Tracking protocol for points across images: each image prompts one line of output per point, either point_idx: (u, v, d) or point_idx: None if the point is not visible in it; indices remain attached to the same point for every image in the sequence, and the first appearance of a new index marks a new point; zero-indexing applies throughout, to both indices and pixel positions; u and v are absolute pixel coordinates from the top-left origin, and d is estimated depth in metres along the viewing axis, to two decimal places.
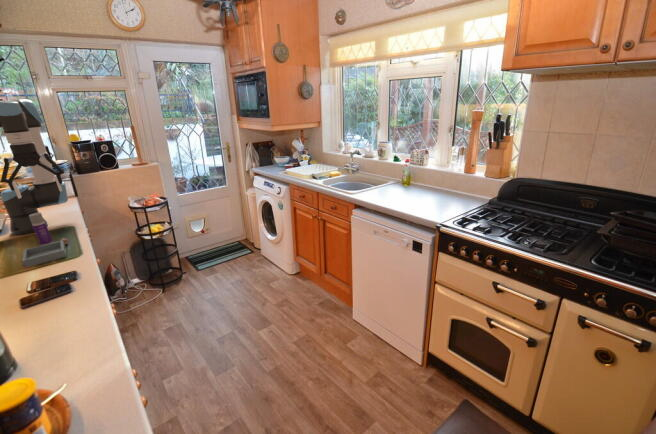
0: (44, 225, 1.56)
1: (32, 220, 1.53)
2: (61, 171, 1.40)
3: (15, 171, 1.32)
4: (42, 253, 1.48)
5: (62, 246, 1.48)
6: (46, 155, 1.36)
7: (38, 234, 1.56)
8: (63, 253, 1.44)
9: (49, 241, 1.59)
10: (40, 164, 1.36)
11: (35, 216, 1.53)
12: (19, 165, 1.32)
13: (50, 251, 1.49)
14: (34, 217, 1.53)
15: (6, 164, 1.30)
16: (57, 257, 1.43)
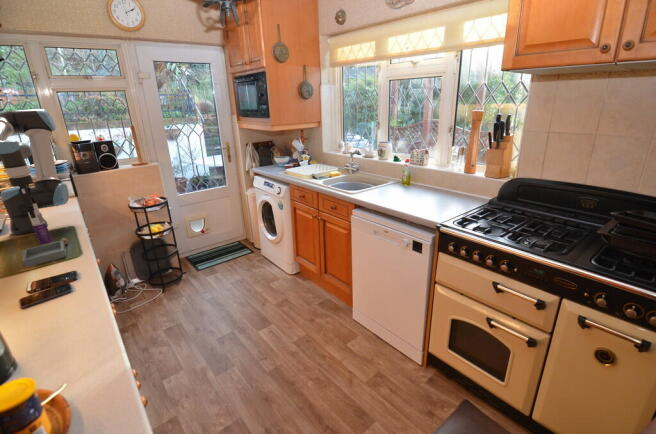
0: (44, 225, 1.56)
1: None
2: (25, 208, 1.44)
3: None
4: (42, 253, 1.48)
5: (62, 246, 1.48)
6: (20, 191, 1.44)
7: (38, 234, 1.56)
8: (63, 253, 1.44)
9: (49, 241, 1.59)
10: (22, 197, 1.47)
11: None
12: None
13: (50, 251, 1.49)
14: None
15: None
16: (57, 257, 1.43)
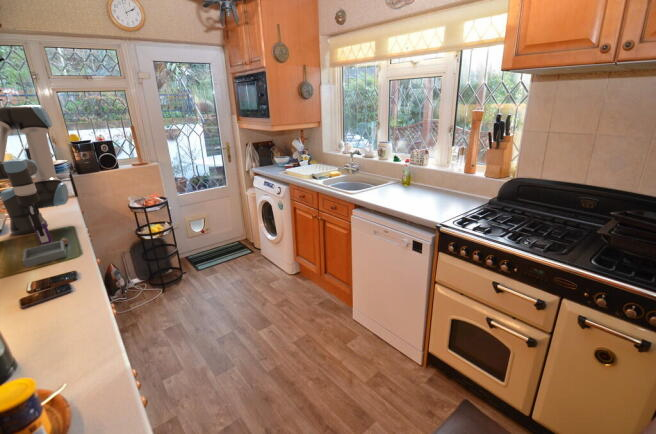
0: (44, 225, 1.56)
1: None
2: (35, 228, 1.51)
3: None
4: (42, 253, 1.48)
5: (62, 246, 1.48)
6: (28, 212, 1.48)
7: None
8: (63, 253, 1.44)
9: (49, 241, 1.59)
10: (30, 215, 1.52)
11: None
12: None
13: (50, 251, 1.49)
14: None
15: None
16: (57, 257, 1.43)
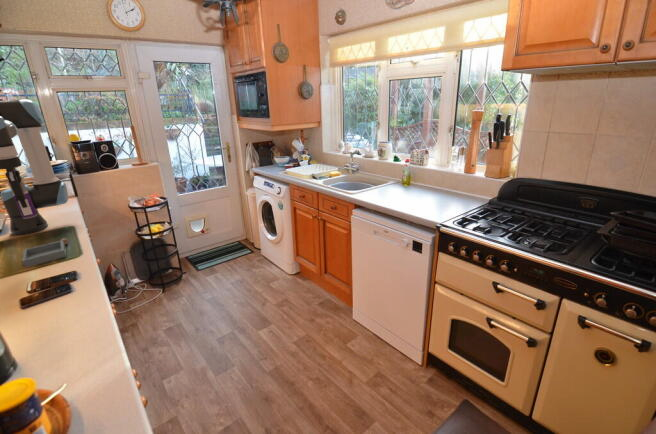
0: (27, 195, 1.36)
1: None
2: (16, 197, 1.31)
3: None
4: (42, 253, 1.48)
5: (62, 246, 1.48)
6: (8, 178, 1.28)
7: None
8: (63, 253, 1.44)
9: (33, 214, 1.39)
10: (10, 183, 1.31)
11: None
12: None
13: (50, 251, 1.49)
14: None
15: None
16: (57, 257, 1.43)
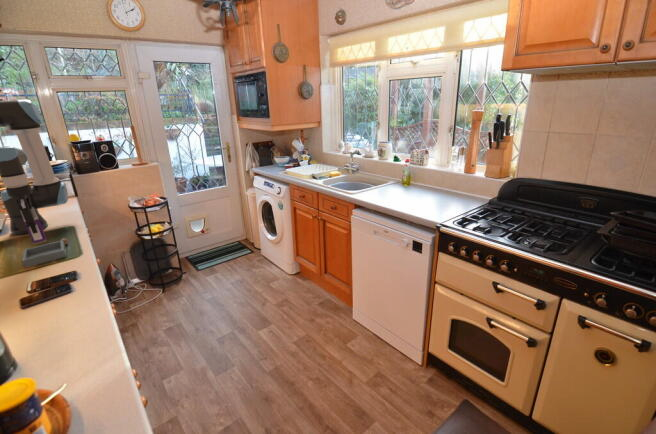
0: (37, 221, 1.40)
1: None
2: None
3: None
4: (42, 253, 1.48)
5: (62, 246, 1.48)
6: None
7: (30, 231, 1.39)
8: (63, 253, 1.44)
9: (43, 239, 1.43)
10: (21, 210, 1.36)
11: None
12: None
13: (50, 251, 1.49)
14: None
15: None
16: (57, 257, 1.43)
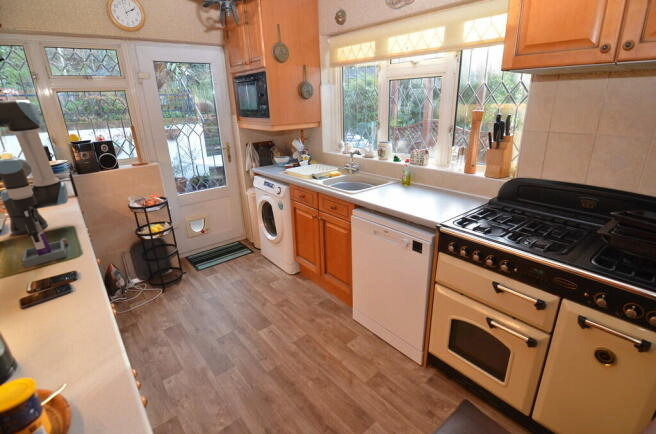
0: (42, 235, 1.43)
1: None
2: (29, 233, 1.34)
3: None
4: None
5: (62, 246, 1.48)
6: (22, 214, 1.33)
7: None
8: (63, 253, 1.44)
9: None
10: None
11: None
12: None
13: None
14: None
15: None
16: (57, 257, 1.43)
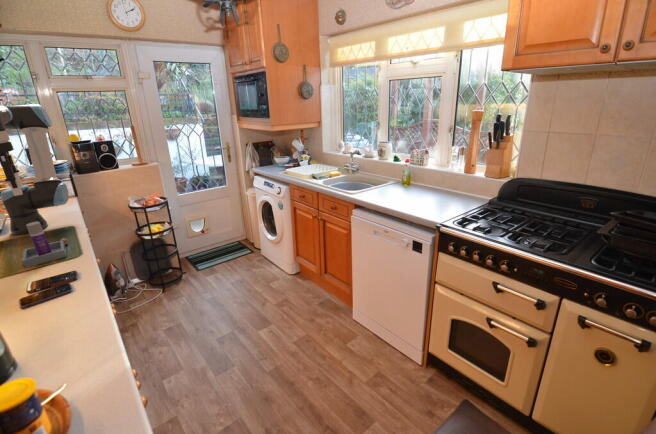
0: (43, 235, 1.43)
1: (30, 230, 1.40)
2: (6, 177, 1.34)
3: None
4: None
5: (62, 246, 1.48)
6: None
7: (36, 245, 1.42)
8: (63, 253, 1.44)
9: None
10: (1, 165, 1.36)
11: (33, 226, 1.39)
12: None
13: None
14: (32, 227, 1.39)
15: None
16: (57, 257, 1.43)
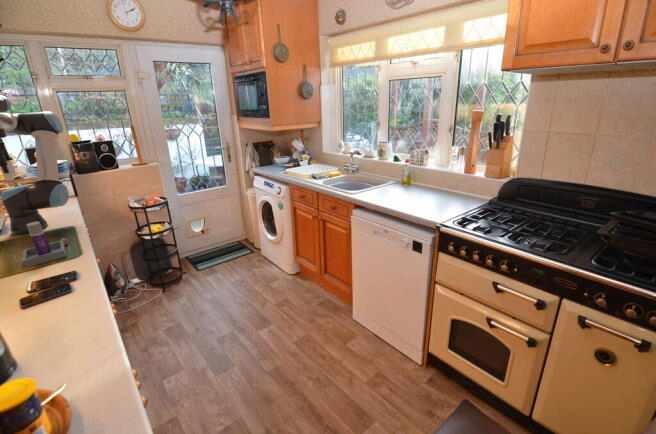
0: (43, 235, 1.43)
1: (30, 230, 1.40)
2: None
3: None
4: None
5: (62, 246, 1.48)
6: None
7: (36, 245, 1.42)
8: (63, 253, 1.44)
9: None
10: None
11: (33, 226, 1.39)
12: None
13: None
14: (32, 227, 1.39)
15: None
16: (57, 257, 1.43)
